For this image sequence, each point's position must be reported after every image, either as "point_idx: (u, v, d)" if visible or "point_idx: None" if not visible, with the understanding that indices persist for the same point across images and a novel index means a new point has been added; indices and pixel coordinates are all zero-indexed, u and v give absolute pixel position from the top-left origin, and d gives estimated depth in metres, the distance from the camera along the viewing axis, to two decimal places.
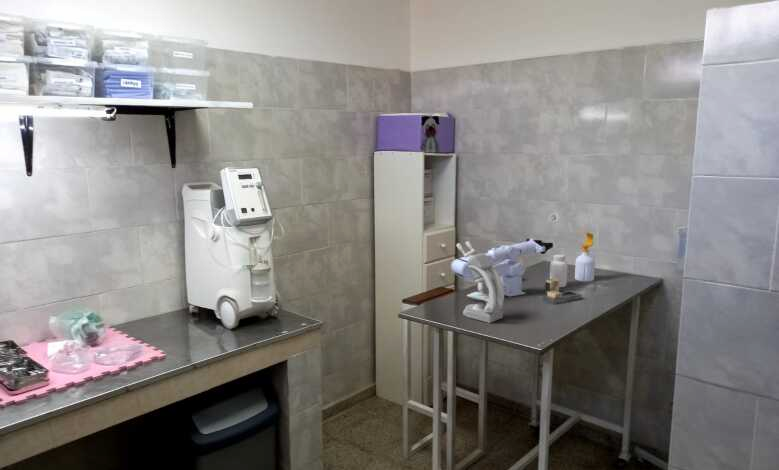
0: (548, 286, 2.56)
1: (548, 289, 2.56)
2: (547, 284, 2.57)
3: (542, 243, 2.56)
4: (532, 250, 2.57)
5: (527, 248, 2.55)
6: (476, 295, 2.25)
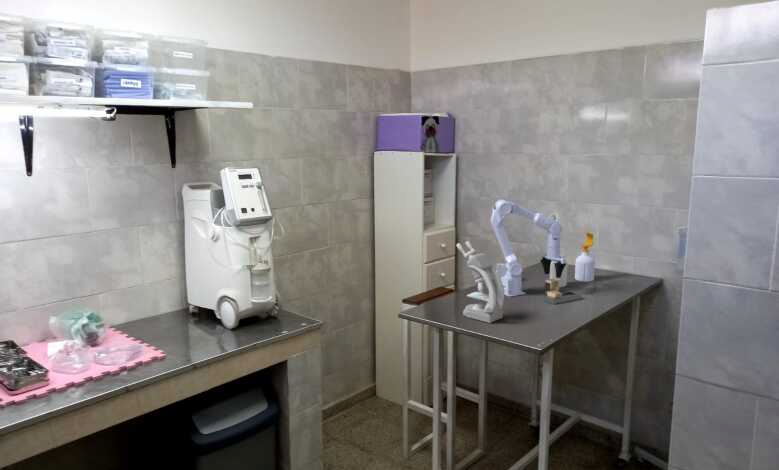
0: (548, 286, 2.56)
1: (548, 289, 2.56)
2: (547, 284, 2.57)
3: None
4: (555, 254, 2.53)
5: (558, 247, 2.53)
6: (476, 295, 2.25)
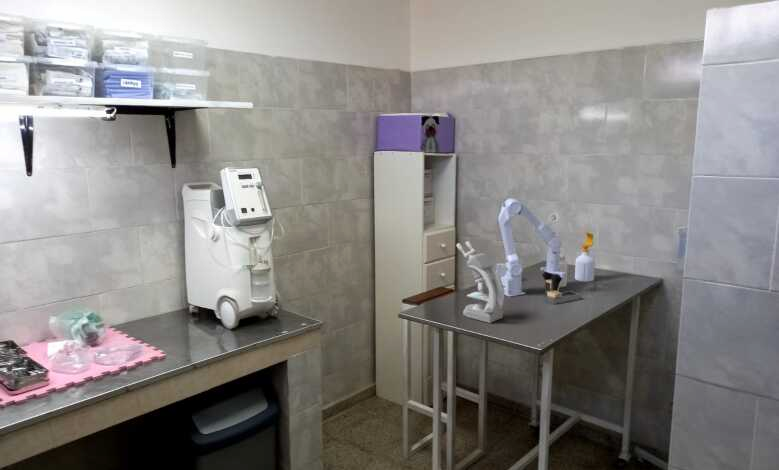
0: (548, 286, 2.56)
1: (548, 289, 2.56)
2: (547, 284, 2.57)
3: None
4: (555, 267, 2.54)
5: (558, 261, 2.54)
6: (476, 295, 2.25)
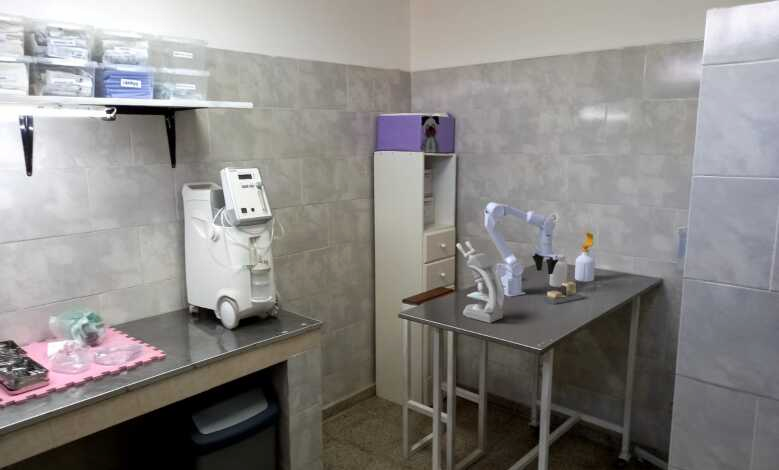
0: (564, 289, 2.46)
1: (564, 292, 2.46)
2: (563, 287, 2.46)
3: None
4: (547, 250, 2.54)
5: (550, 244, 2.54)
6: (476, 295, 2.25)
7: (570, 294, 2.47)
